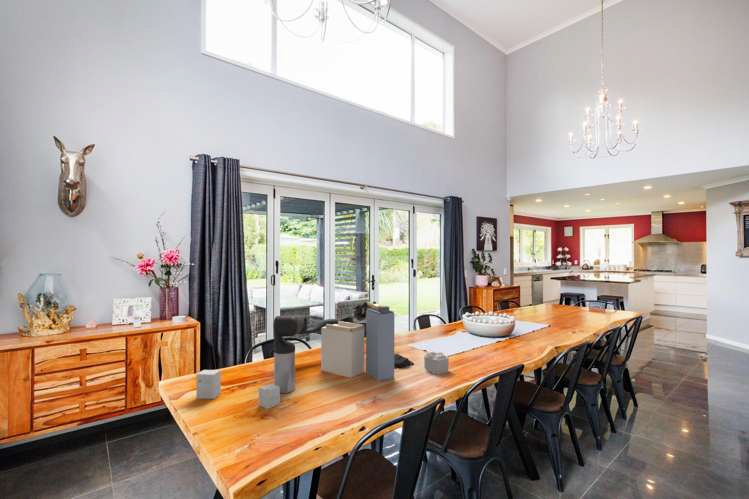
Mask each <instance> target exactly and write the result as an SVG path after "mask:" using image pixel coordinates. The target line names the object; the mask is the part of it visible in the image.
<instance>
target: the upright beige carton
mask: <svg viewBox="0 0 749 499" xmlns="http://www.w3.org/2000/svg"><path fill="white" fill-rule="evenodd" d="M320 333H321V337H320V338H321V340H320V342H321V343H320V344H321V345H320V346H321V348H320V349H321V353H320V354H321V356H320V357H321V358H320V359H321V360H320V362H321V363H320V365H321V366H320V367H321V371H322V372H326V373H330V374H334V375H338V376H342V377H346V378H350V379H352V378H354V377H356V375H357V376H358V375H360V374H363V373H365V324H362V323H360V324H356V323H349V322H343V321H338V324H333V325H330V324H326V326H325V327H322V328H321V332H320Z"/></svg>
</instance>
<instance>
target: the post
mask: <svg viewBox="0 0 749 499" xmlns="http://www.w3.org/2000/svg"><path fill="white" fill-rule="evenodd" d="M365 322H366V323H365V331H366V332H365V373H366V374H368V375H369V376H370V377H371V378H373V379H374V380H376V381H377V382H381V381H387V380H391V379H395V369H394V354H395V313H394V311H393V310H391V309H389V313H387V314H381V313H380V312H378V311H375V310H372V309H369V308H367V310H366V318H365Z"/></svg>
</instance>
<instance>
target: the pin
mask: <svg viewBox="0 0 749 499" xmlns="http://www.w3.org/2000/svg"><path fill="white" fill-rule="evenodd" d="M366 302H367V304H368V306H367V307H366V308H369V309H372V310H375V311H378V312H380V313H381V314H387V313H389V310H390V306H388V305H384V306H383V305H380V304H377V303H376V304H374V303H373V302H370V301H366Z"/></svg>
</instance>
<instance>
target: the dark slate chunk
mask: <svg viewBox="0 0 749 499" xmlns="http://www.w3.org/2000/svg"><path fill="white" fill-rule="evenodd" d="M414 364H415V363H414V362H413V361H411V360H409V358H407V357H405V356H403V355H400V354H398V353H394V370H398V369H403V367H404V368H407V366H409V367H411V366H414ZM410 365H411V366H410ZM397 368H398V369H397Z"/></svg>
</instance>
